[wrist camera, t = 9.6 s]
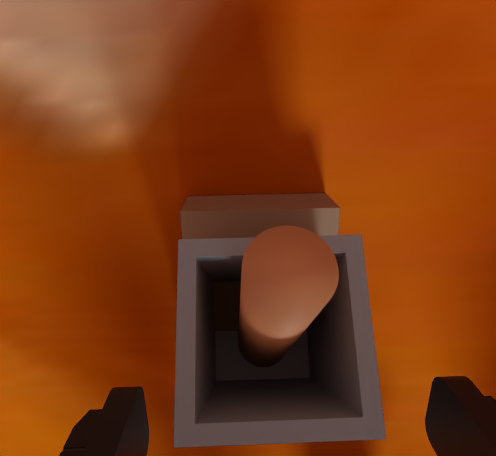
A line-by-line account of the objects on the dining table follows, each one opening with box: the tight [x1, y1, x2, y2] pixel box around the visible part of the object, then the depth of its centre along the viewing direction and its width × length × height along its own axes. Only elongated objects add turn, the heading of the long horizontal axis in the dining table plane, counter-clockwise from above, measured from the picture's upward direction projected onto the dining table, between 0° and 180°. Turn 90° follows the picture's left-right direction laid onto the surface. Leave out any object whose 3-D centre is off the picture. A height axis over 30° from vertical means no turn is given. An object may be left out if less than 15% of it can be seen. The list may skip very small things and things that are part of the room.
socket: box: [174, 193, 386, 448], centre depth 19 cm, size 12×9×14 cm
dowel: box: [238, 225, 339, 367], centre depth 16 cm, size 3×3×12 cm
